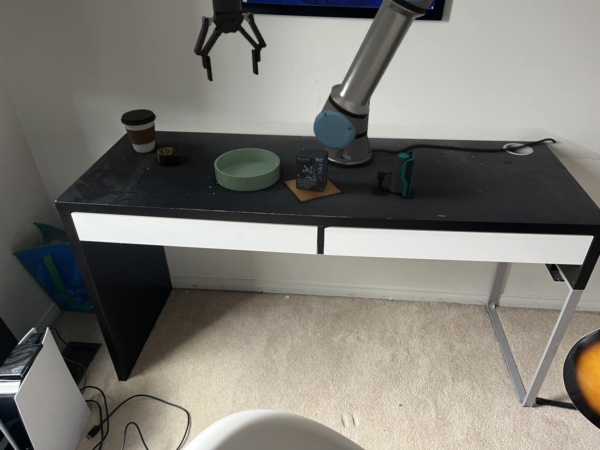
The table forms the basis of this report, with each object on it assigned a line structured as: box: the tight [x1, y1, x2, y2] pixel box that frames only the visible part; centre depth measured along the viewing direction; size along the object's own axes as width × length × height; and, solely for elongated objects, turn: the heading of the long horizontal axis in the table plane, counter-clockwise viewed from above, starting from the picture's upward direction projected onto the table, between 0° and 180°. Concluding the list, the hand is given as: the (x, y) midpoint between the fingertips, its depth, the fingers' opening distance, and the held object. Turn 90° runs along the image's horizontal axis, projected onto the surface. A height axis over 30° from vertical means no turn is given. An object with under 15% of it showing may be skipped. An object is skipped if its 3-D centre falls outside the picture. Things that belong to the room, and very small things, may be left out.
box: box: [295, 147, 329, 192], centre depth 132 cm, size 8×6×11 cm
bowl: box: [213, 147, 281, 192], centre depth 141 cm, size 19×19×4 cm
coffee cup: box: [120, 108, 157, 154], centre depth 155 cm, size 11×11×12 cm
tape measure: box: [155, 146, 181, 165], centre depth 149 cm, size 7×7×4 cm
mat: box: [284, 178, 341, 203], centre depth 135 cm, size 12×12×1 cm
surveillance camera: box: [372, 150, 416, 199], centre depth 130 cm, size 6×12×10 cm
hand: (233, 76), depth 135 cm, fingers open, 13 cm apart
